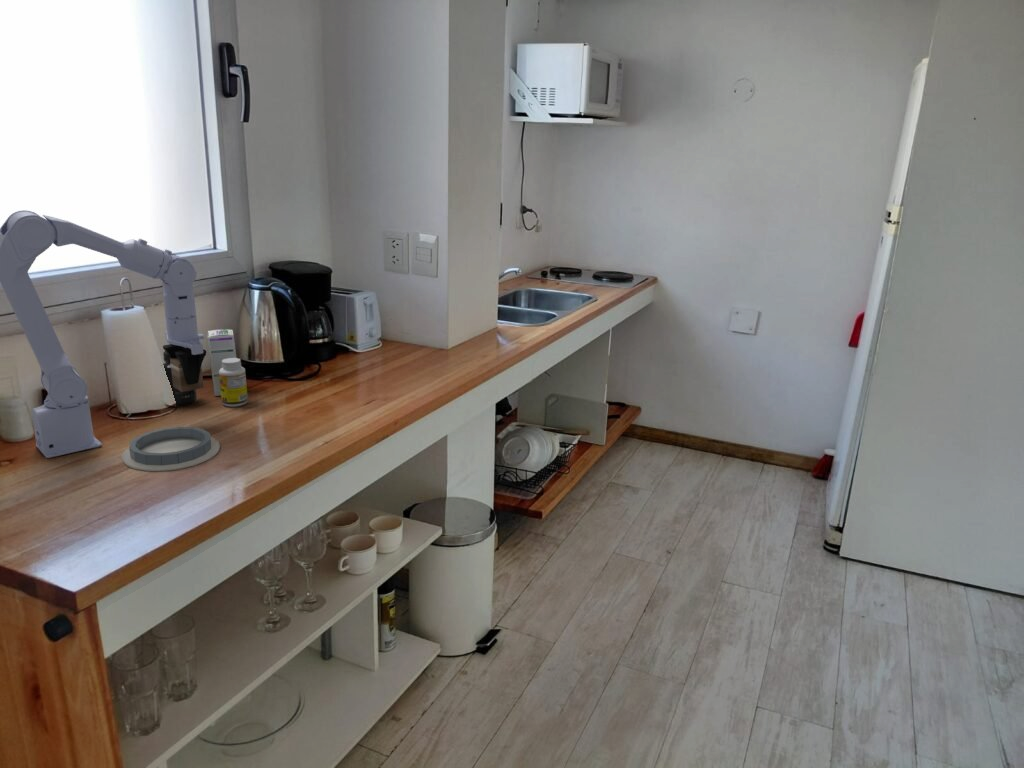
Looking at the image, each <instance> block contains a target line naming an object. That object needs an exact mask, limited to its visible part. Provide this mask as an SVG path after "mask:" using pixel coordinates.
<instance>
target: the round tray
mask: <svg viewBox="0 0 1024 768" xmlns="http://www.w3.org/2000/svg"><path fill="white" fill-rule="evenodd" d="M220 445H221V444H220V442H219V440H217V439H215V438H214V437H212V436H211V433H210V432H209V431H207V430H206V429H203V428H200V427H199V428H198V427H193V426H192V427H191V426H174V427H164V428H163V427H162V428H159V429H155V430H150V431H147V432H145V433H142V434H140V435H138V436H136V437H135V438H134V439H132V440H131V441H130V442H129V446H128V448H127V449H125V450H124V451H123V453H122V456H121V460H122V463H123V464H124V465H125V466H127V467H128V468H131V469H134V470H137V471H144V472H168V471H169V472H170V471H176V470H181V469H187V468H191V467H194V466H197V465H200V464H204V463H205V462H207V461H209V460H212V459H213V458H214V457H215V456H216V455H217V454H219V451H220V449H221V448H220V447H221V446H220Z"/></svg>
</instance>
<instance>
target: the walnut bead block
mask: <svg viewBox="0 0 1024 768" xmlns="http://www.w3.org/2000/svg"><path fill="white" fill-rule="evenodd" d="M170 366H171V371H172V380H173V387H175V388H176V389H178V390H179V391H181V392H184V391H190V390H195V389H196V390H199V389H203V388H205V387H204V378H203V377H204V376H203V365H201V369H200V375H199V381H198V383H196V384H190V385H188V384H187V383H186V380H185V377H184V373H183V369H182V366H181V363H180V361H179V359H178V358H171V359H170Z"/></svg>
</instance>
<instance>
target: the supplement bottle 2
mask: <svg viewBox="0 0 1024 768" xmlns="http://www.w3.org/2000/svg"><path fill="white" fill-rule="evenodd" d="M246 373H247V372H246V368H245V367H243V366H242V361H241V358H238V357H237V358H227V359H223V360H222V368H221V369H220V370H219V378H220V389H221V396H220V397H221V403H222V405H223V406H226V407H229V408H230V407H231V408H234V407H242V406H244V405H245V404H247V403H248V397H249V396H248V387H247V386H248V385H247V375H246Z"/></svg>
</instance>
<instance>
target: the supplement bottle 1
mask: <svg viewBox="0 0 1024 768" xmlns="http://www.w3.org/2000/svg"><path fill="white" fill-rule="evenodd" d="M163 361H164V363H163V365H164V368H165V371H166V375H167V377H168V380H169V382H170V385H171V388H172V391H173V395H174V398H175V401H176V406H178V407H177V408H182V407H181V406H183V407H189V406H191V405H193V404H195V403H196V402H197V398H198V397H197V389H195V390H190V391H184V392H181V391H179V390H178V389H176V388H175V387H173V380H172V371H171V366H170V358H169V356H168V354H167V353H166V351H165V350H164V351H163Z"/></svg>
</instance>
